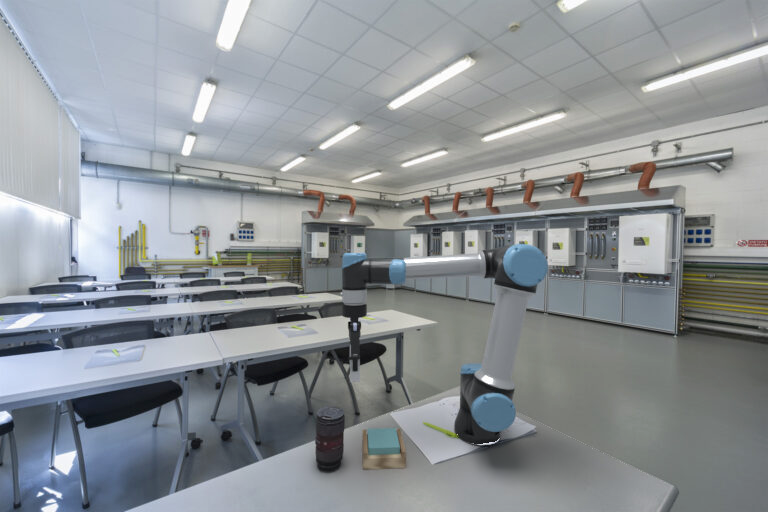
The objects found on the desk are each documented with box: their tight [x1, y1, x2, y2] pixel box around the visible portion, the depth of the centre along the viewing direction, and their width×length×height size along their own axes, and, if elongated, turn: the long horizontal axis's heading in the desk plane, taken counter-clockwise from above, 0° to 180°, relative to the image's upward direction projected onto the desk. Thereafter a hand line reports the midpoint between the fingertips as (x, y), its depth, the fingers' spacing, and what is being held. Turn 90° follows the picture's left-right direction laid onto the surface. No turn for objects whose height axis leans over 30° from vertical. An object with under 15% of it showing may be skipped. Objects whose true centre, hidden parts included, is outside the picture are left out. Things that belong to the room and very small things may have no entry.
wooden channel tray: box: [361, 428, 407, 470], centre depth 94 cm, size 12×12×4 cm
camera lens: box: [314, 405, 346, 473], centre depth 90 cm, size 8×8×15 cm
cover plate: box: [366, 427, 400, 455], centre depth 95 cm, size 9×10×2 cm
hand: (354, 372), depth 96 cm, fingers open, 13 cm apart
